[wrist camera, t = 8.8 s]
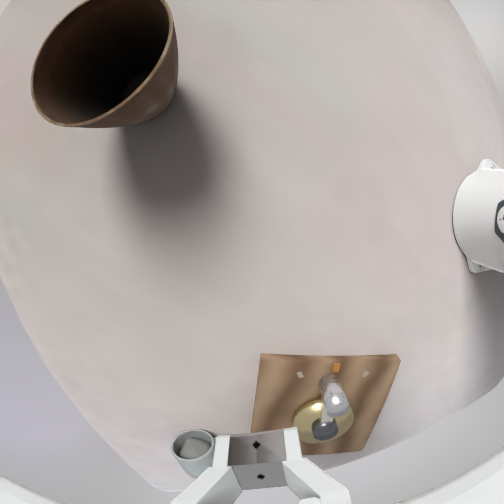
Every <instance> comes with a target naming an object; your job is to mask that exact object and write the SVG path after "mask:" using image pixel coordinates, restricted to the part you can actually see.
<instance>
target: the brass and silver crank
mask: <svg viewBox="0 0 504 504" xmlns="http://www.w3.org/2000/svg"><path fill="white" fill-rule="evenodd" d="M318 385H319V388H320V392H321V395H322V396H319V397H316V398H313V399H310V400H308V401H306V402H305V403H303V404H302V405H300V406H299V407H298V408H297V409H296V410H295V412H294V413H293V415H292V419H291V423H292V427H297V429H298V435H299V440H301V441H303V442H306V443H312V444H318V443H325V442H329V441H332V440H334V439H336V438H338V437H340V436H341V435H343V434H344V433H345V432H346V431H347V430H348V429H349V428H350V427H351V425H352V423H353V420H354V414H353V411H352V408H351V406H350V404H349V402H348V400H347V397H346V395H345V393H344V390H343V388H342V385H341V383H340V380H339V378H338V376H336V375H334V374H328V375H325V376H323V377H322V378H321V379H320V380H319V383H318Z"/></svg>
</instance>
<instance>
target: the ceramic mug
mask: <svg viewBox="0 0 504 504" xmlns="http://www.w3.org/2000/svg"><path fill="white" fill-rule="evenodd" d="M216 438H217V437H214V438H213V437H212V435H211V434H209V433H208V432H206V431H204V430H200V429H191V430H187V431H184V432H182V433H180V434H179V435H177V436H176V438H175V439H174V440H173V442H172V446H171V449H172V453H173V455H174V456H175V458H176V459H177V461H178V462H179V463H180V465H181V466H182V468H183V469H184V471H185V472H186V473H187V474H189V475H190V476H191V477H193V478H198V477H199V476H200V475H201V474H202V473H203V472H204V471H205V470H206V469H207V468H208V467H212V465H213V458H214V451H215V443H216Z"/></svg>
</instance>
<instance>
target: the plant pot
mask: <svg viewBox="0 0 504 504" xmlns="http://www.w3.org/2000/svg"><path fill="white" fill-rule="evenodd" d="M177 77H178V47H177V39H176V33H175V27H174V22H173V17H172V13H171V10H170V7H169V6H168V4H167V2H166V1H165V0H85V1H83V2H82V3H80V4H79V5H77V6H76V7H75V8H74V9H72V10H71V11H70V12H69V13H67V14H66V15H65V16H64V17H63V18H62V19H61V20H60V21H59V22H58V23H57V24H56V26H55V27H54V28H53V29H52V31H51V32H50V33H49V35H48V36H47V38H46V39H45V41H44V42H43V44H42V46H41V48H40V50H39V52H38V54H37V57H36V60H35V62H34V66H33V70H32V75H31V95H32V99H33V102H34V105H35V107H36V109H37V111H38V112H39V114H40V115H41V116H42V117H43V118H44V119H45V120H47V121H48V122H50V123H52V124H55V125H58V126H64V127H84V128H111V127H122V126H129V125H134V124H139V123H142V122H146V121H148V120H151V119H153V118H155V117H157V116H159V115H160V114H162V113H163V112H164V111H165V110H166V109H167V107H168V106H169V105H170V103H171V101H172V98H173V96H174V92H175V89H176V84H177Z"/></svg>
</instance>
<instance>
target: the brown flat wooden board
mask: <svg viewBox="0 0 504 504" xmlns="http://www.w3.org/2000/svg"><path fill="white" fill-rule="evenodd" d="M400 362H401V360H400V359H399V357H398V356H397V355H396V354H391V355H366V356H305V355H279V354H261V356H260V364H259V372H258V380H257V388H256V396H255V404H254V412H253V419H252V427H251V433H257V432H264V431H271V430H278V429H285V428H291V427H292V423H291V419H292V415H293V413H294V412H295V410H296V409H297V408H298V407H299V406H300V405H302V404H303V403H305V402H306V401H308V400H310V399H313V398H316V397H319V396H322V395H321V392H320V388H319V385H318V383H319V380H320V379H321V378H322V377H323V376H325V375H328V374H334V375H336V376H338V378H339V380H340V383H341V385H342V388H343V390H344V393H345V395H346V397H347V400H348V402H349V404H350V406H351V408H352V411H353V414H354V420H353V423H352V425H351V427H350V428H349V429H348V430H347V431H346V432H345V433H344V434H343V435H341V436H340V437H338V438H336V439H334V440H332V441H329V442H325V443H318V444H312V443H306V442H303V441H301V440H299V441H300V447H301V453H302V455H313V454H329V453H341V452H350V451H359V450H363V448H364V446H365V444H366V442H367V440H368V438H369V436H370V434H371V432H372V430H373V427H374V425H375V423H376V421H377V419H378V417H379V414H380V412H381V410H382V408H383V405H384V403H385V401H386V398H387V396H388V393H389V391H390V388H391V386H392V383H393V381H394V378H395V375H396V373H397V370H398V367H399V364H400Z"/></svg>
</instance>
